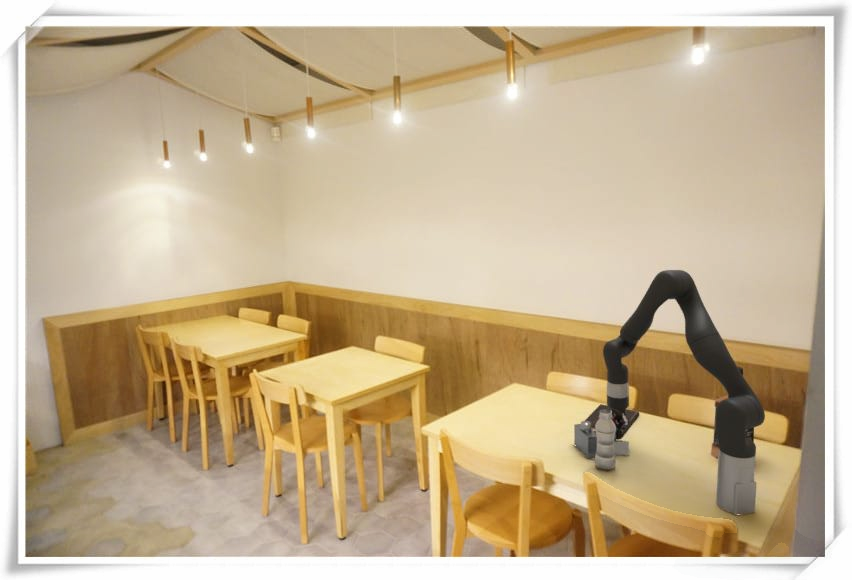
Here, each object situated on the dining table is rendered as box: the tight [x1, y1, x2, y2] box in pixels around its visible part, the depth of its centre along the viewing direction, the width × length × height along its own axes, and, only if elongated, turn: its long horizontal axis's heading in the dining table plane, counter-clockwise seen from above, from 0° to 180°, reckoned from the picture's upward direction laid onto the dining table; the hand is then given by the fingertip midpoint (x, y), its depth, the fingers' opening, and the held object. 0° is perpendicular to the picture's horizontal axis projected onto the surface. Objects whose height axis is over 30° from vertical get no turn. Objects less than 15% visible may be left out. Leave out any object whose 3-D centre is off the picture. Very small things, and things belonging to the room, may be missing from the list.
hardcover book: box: [584, 403, 640, 438], centre depth 220 cm, size 16×23×2 cm
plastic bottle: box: [594, 410, 616, 471], centre depth 184 cm, size 6×7×20 cm
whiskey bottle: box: [710, 366, 755, 459], centre depth 185 cm, size 10×10×32 cm
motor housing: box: [573, 420, 630, 460], centre depth 198 cm, size 15×14×11 cm
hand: (618, 438), depth 199 cm, fingers closed
